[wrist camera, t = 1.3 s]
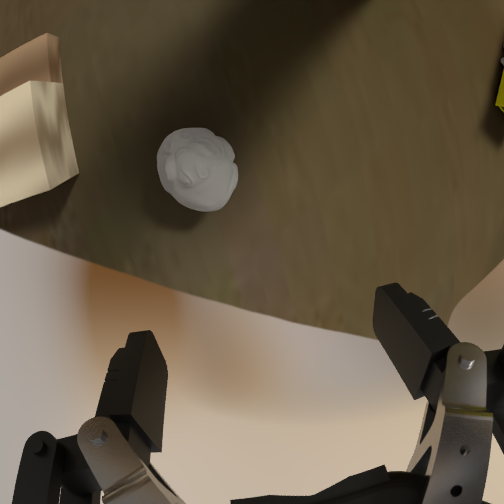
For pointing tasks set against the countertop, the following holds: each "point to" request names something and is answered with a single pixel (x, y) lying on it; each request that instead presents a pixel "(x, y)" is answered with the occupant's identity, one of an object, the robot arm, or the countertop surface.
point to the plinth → (33, 122)
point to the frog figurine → (197, 168)
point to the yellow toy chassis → (501, 91)
